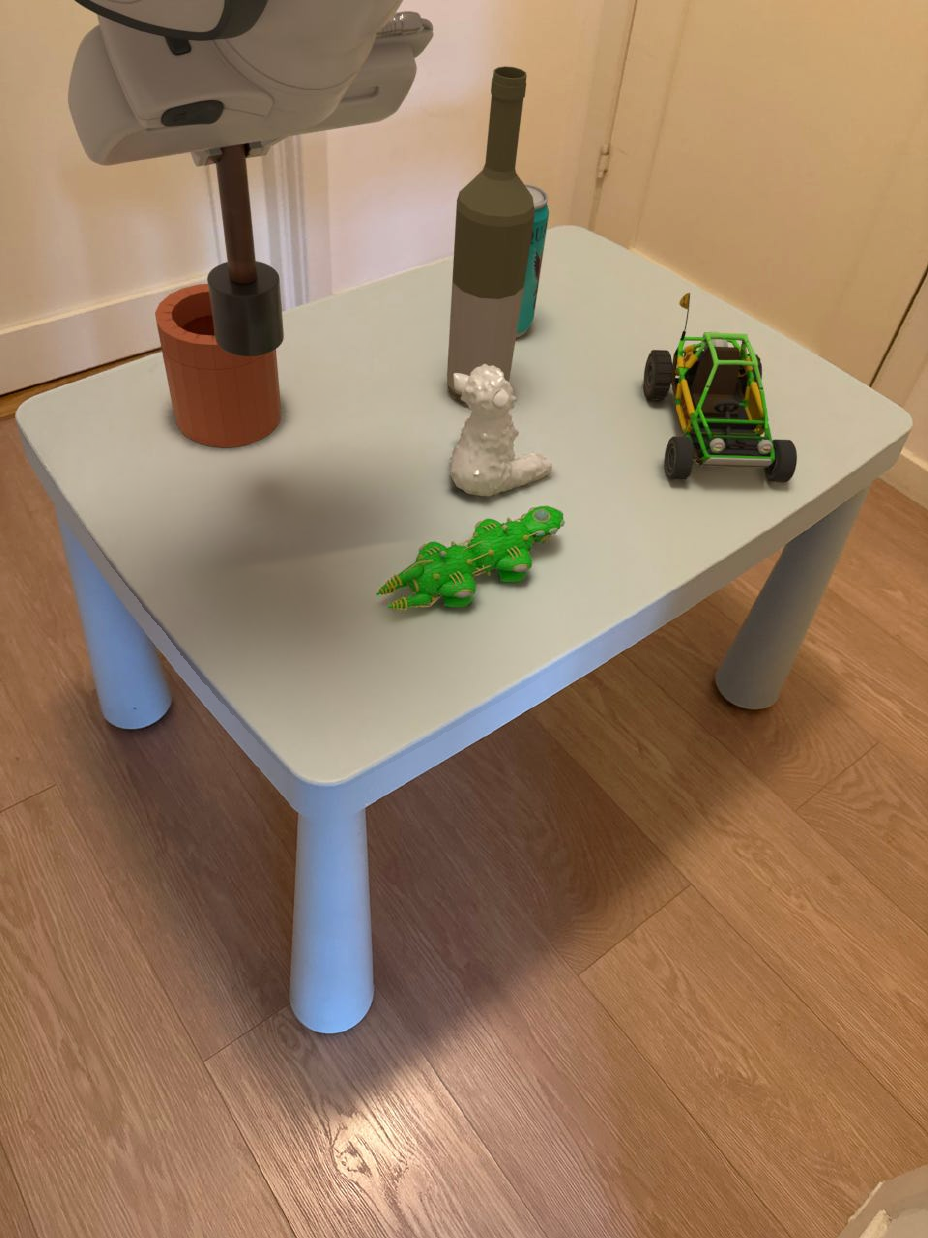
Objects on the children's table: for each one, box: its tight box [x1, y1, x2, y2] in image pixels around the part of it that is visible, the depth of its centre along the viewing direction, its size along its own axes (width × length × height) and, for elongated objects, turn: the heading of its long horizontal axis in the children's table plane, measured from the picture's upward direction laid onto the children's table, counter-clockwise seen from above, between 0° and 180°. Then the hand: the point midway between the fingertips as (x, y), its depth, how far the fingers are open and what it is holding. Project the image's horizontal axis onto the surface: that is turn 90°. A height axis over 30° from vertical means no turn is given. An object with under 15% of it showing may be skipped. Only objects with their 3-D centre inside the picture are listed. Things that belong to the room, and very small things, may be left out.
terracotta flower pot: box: [154, 283, 282, 448], centre depth 86 cm, size 10×10×11 cm
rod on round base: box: [206, 144, 285, 356], centre depth 62 cm, size 5×5×24 cm
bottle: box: [446, 66, 535, 404], centre depth 84 cm, size 7×7×30 cm
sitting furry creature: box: [448, 364, 553, 498], centre depth 82 cm, size 10×9×12 cm
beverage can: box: [516, 183, 550, 339], centre depth 98 cm, size 6×6×15 cm
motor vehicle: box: [643, 292, 798, 483], centre depth 90 cm, size 12×19×11 cm, turn 3°
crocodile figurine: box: [375, 505, 566, 611], centre depth 77 cm, size 7×18×4 cm, turn 124°
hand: (226, 149), depth 61 cm, fingers closed on rod on round base
